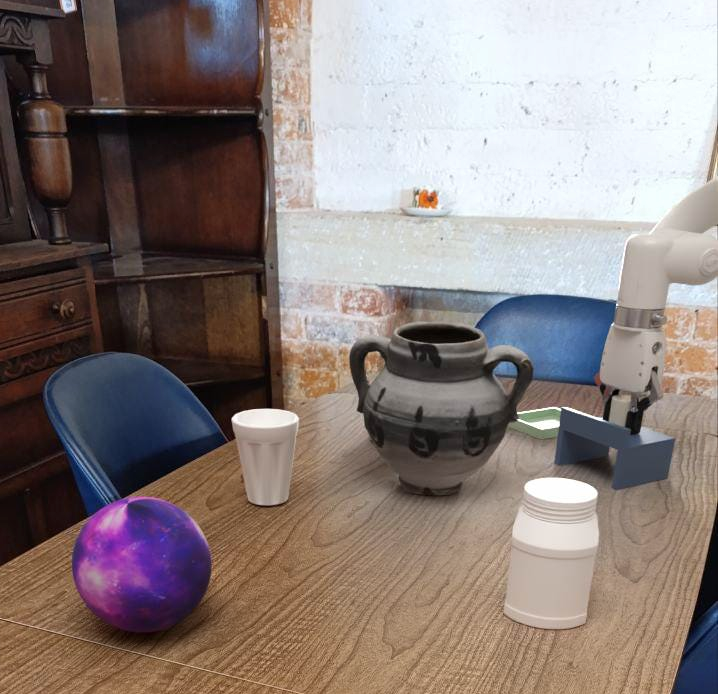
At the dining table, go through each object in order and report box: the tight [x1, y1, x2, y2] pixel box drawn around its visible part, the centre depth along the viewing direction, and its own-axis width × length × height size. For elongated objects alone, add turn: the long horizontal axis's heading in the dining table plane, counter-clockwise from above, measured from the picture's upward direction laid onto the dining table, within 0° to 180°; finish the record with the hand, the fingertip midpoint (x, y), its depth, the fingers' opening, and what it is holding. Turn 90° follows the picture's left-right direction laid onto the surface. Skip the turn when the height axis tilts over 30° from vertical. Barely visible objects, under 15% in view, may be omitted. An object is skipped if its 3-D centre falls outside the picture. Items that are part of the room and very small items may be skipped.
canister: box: [608, 394, 631, 427], centre depth 147 cm, size 4×4×6 cm
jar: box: [502, 477, 600, 630], centre depth 103 cm, size 12×10×15 cm
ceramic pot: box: [349, 321, 535, 496], centre depth 137 cm, size 29×23×25 cm
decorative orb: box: [71, 496, 212, 633], centre depth 97 cm, size 15×15×15 cm
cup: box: [231, 408, 300, 506], centre depth 133 cm, size 10×10×13 cm
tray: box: [507, 406, 561, 440], centre depth 173 cm, size 13×11×2 cm
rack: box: [553, 406, 676, 491], centre depth 149 cm, size 12×15×10 cm
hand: (620, 428), depth 148 cm, fingers closed on canister, 4 cm apart
